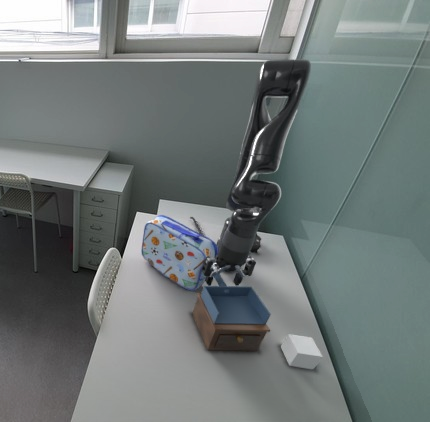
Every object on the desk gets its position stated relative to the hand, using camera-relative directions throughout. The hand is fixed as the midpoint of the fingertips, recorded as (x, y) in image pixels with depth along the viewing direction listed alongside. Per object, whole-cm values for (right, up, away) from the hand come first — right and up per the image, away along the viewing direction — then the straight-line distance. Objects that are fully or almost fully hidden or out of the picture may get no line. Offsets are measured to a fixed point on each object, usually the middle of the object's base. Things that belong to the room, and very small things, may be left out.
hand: (221, 283), depth 96 cm
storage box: (0, -15, -1) cm, 15 cm away
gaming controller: (+30, +8, +35) cm, 47 cm away
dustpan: (0, -4, -1) cm, 4 cm away
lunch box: (-7, -1, +22) cm, 23 cm away
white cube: (+17, -20, -8) cm, 27 cm away
